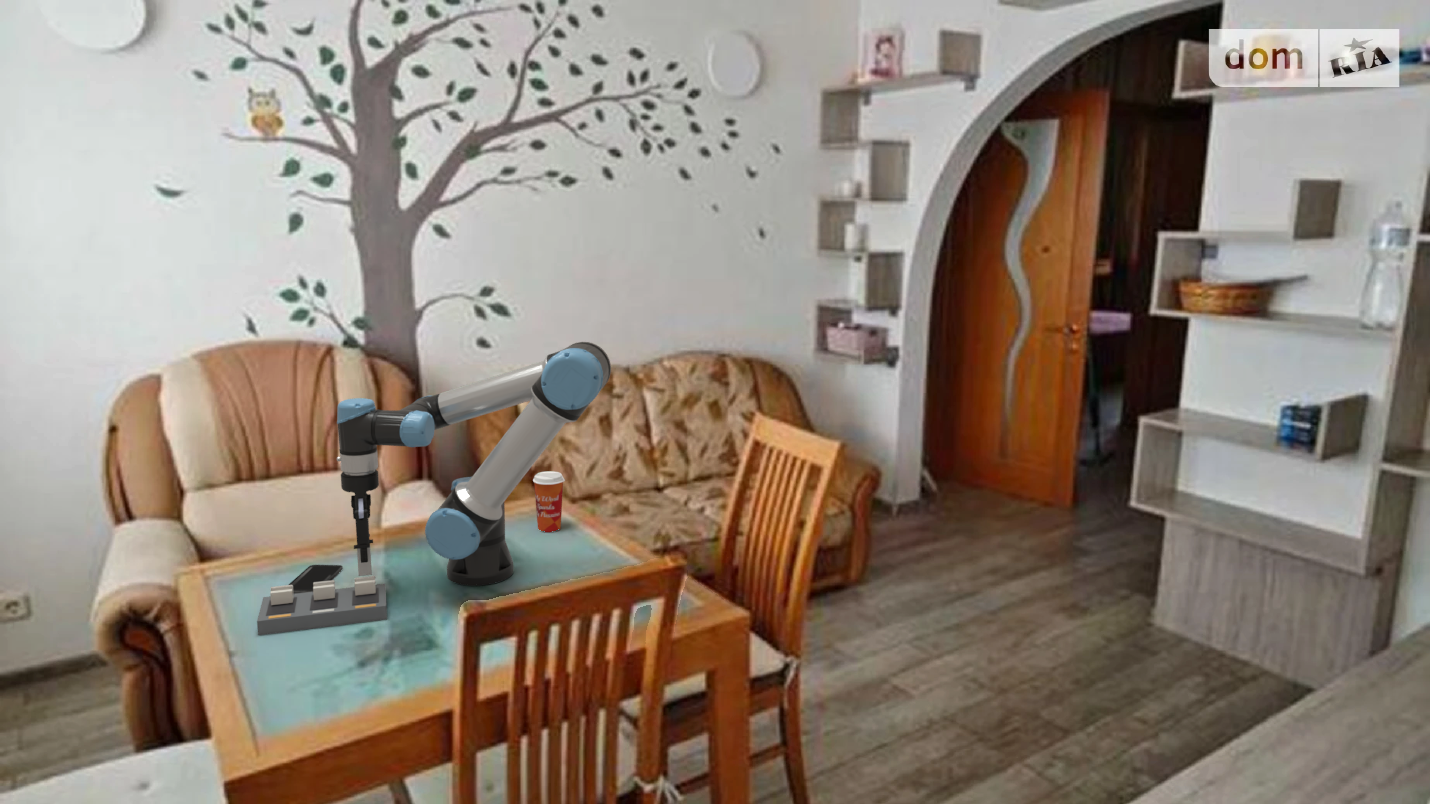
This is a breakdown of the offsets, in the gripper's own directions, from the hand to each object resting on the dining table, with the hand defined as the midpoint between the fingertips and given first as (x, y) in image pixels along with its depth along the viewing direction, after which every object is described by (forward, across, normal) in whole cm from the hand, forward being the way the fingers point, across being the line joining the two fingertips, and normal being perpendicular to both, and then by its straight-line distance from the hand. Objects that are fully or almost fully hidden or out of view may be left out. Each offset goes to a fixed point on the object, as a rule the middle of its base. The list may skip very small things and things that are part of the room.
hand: (365, 574), depth 199 cm
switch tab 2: (+1, +7, -8) cm, 11 cm away
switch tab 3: (+1, +7, 0) cm, 7 cm away
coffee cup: (+5, -30, +46) cm, 55 cm away
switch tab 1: (+1, +7, -16) cm, 18 cm away
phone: (+5, -11, -11) cm, 16 cm away
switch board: (+4, +9, -8) cm, 13 cm away
